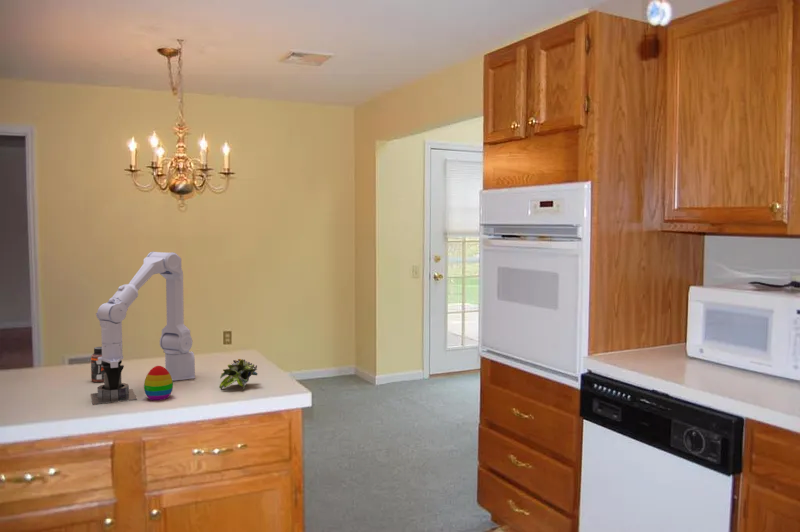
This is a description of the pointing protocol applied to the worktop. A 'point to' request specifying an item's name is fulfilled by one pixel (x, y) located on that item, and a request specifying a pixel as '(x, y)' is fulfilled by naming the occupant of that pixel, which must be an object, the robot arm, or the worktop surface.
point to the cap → (106, 384)
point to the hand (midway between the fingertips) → (113, 386)
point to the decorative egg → (158, 384)
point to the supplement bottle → (97, 366)
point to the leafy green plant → (238, 373)
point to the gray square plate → (113, 394)
